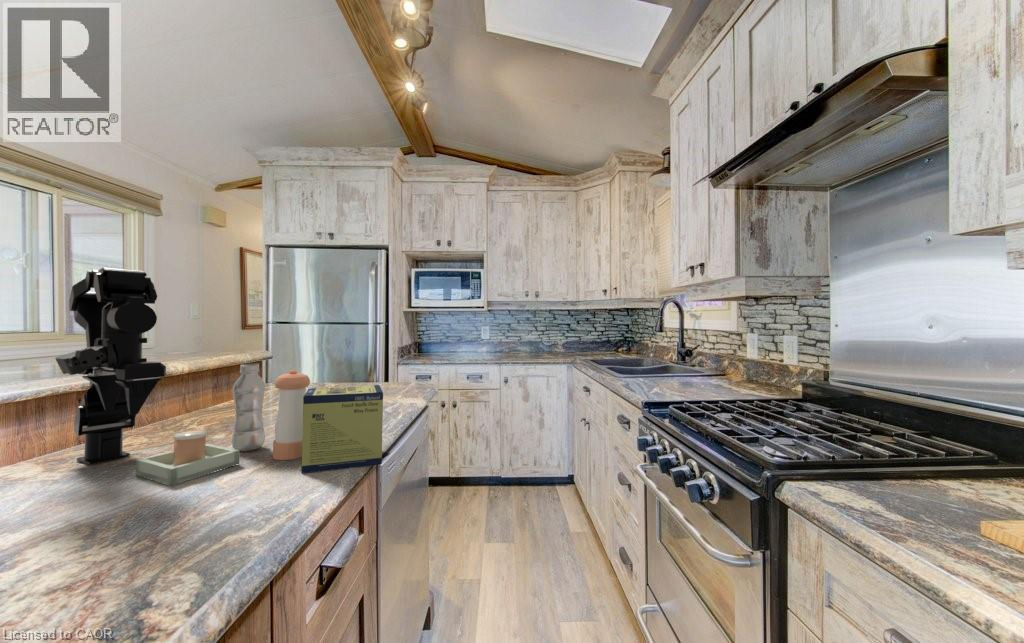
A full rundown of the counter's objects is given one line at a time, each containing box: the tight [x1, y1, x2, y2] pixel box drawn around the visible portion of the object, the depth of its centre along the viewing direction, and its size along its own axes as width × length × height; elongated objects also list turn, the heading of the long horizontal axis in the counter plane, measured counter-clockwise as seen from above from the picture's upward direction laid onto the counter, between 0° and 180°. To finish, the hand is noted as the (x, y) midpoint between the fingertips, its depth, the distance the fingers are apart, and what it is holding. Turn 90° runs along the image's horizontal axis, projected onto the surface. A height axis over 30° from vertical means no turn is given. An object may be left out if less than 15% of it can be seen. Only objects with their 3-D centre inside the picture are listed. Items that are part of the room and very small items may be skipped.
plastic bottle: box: [231, 363, 266, 452], centre depth 92 cm, size 6×7×20 cm
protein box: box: [300, 384, 384, 474], centre depth 86 cm, size 10×16×16 cm
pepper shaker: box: [272, 369, 311, 461], centre depth 89 cm, size 7×7×19 cm
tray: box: [135, 442, 240, 487], centre depth 80 cm, size 12×12×3 cm
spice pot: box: [173, 430, 207, 467], centre depth 80 cm, size 5×5×6 cm
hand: (120, 412), depth 77 cm, fingers open, 9 cm apart
